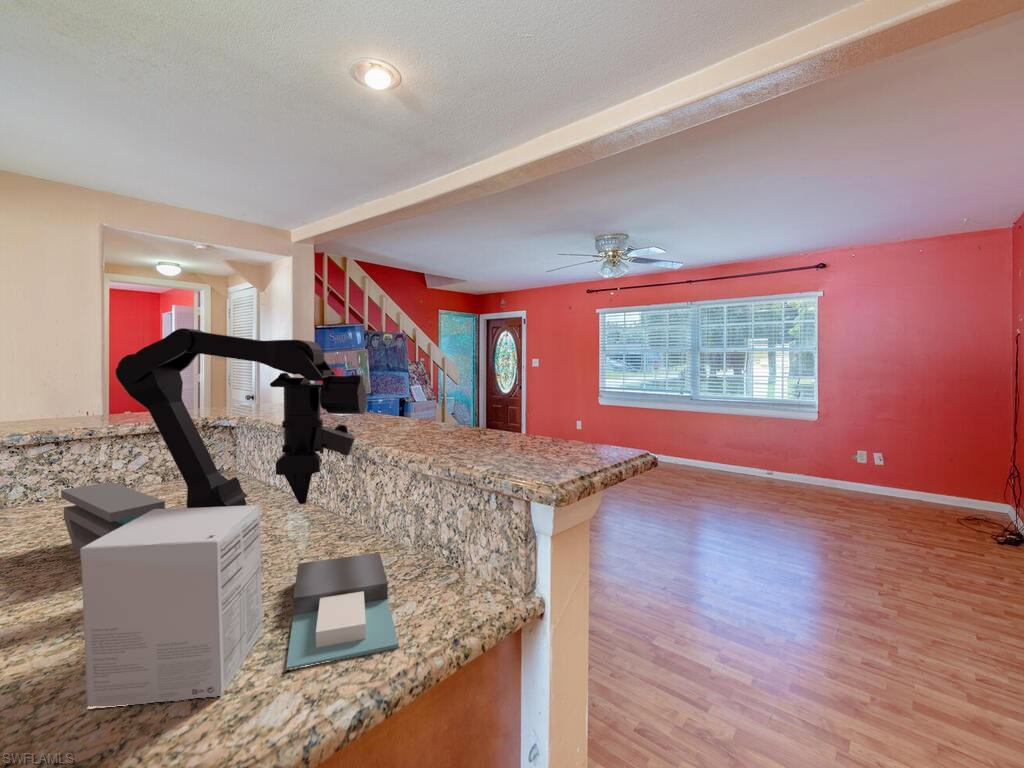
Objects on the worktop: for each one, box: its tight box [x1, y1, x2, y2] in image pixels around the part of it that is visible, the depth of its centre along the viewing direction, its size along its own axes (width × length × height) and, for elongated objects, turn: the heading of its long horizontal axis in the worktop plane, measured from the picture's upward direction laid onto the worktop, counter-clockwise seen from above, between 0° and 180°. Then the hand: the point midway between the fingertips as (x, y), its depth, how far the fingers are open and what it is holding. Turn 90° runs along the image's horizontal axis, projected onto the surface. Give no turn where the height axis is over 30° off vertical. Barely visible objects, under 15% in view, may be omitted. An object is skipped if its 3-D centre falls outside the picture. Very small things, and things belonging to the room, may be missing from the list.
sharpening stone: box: [60, 480, 166, 557], centre depth 88 cm, size 25×8×11 cm, turn 58°
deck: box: [292, 551, 389, 615], centre depth 74 cm, size 13×12×3 cm
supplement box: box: [80, 504, 263, 707], centre depth 56 cm, size 13×13×18 cm
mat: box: [285, 598, 400, 670], centre depth 63 cm, size 13×12×1 cm
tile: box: [316, 591, 366, 648], centre depth 64 cm, size 6×9×2 cm, turn 19°
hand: (302, 503), depth 81 cm, fingers closed
